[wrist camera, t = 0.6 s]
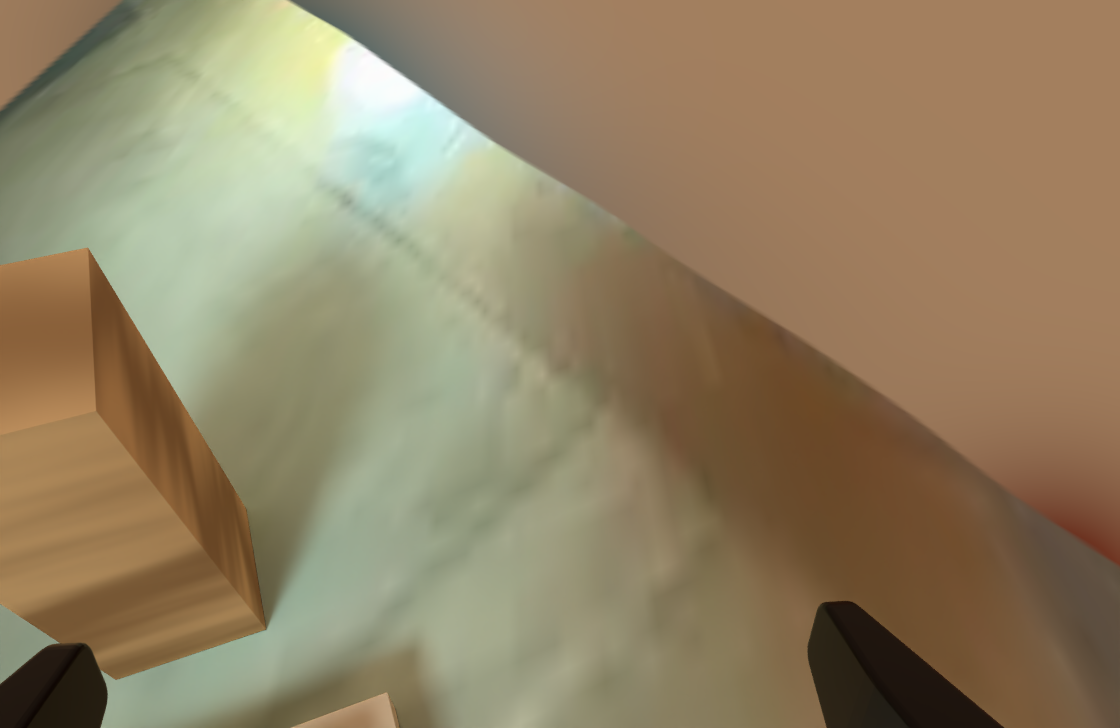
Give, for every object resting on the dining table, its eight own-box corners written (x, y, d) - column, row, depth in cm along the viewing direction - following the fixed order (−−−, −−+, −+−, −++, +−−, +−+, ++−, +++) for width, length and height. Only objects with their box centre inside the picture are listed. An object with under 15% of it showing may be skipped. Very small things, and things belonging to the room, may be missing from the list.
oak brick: (266, 629, 25) (95, 410, 15) (115, 679, 24) (-185, 481, 14) (246, 509, 28) (87, 247, 17) (108, 549, 26) (-151, 296, 16)
